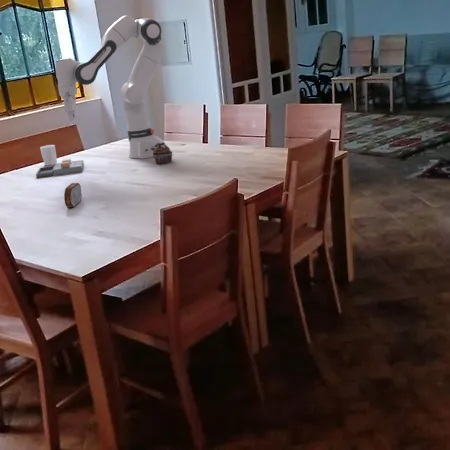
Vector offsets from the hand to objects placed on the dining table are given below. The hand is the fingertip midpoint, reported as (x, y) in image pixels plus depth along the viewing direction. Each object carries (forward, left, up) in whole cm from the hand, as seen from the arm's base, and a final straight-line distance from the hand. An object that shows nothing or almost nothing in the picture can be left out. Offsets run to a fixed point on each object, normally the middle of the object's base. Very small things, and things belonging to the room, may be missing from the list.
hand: (72, 119), depth 325 cm
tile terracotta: (+7, +7, -22) cm, 24 cm away
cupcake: (-42, +17, -26) cm, 52 cm away
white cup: (+18, -22, -26) cm, 38 cm away
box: (+17, +3, -25) cm, 31 cm away
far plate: (+6, +3, -25) cm, 26 cm away
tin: (-2, +76, -26) cm, 80 cm away
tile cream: (+7, -1, -22) cm, 23 cm away
